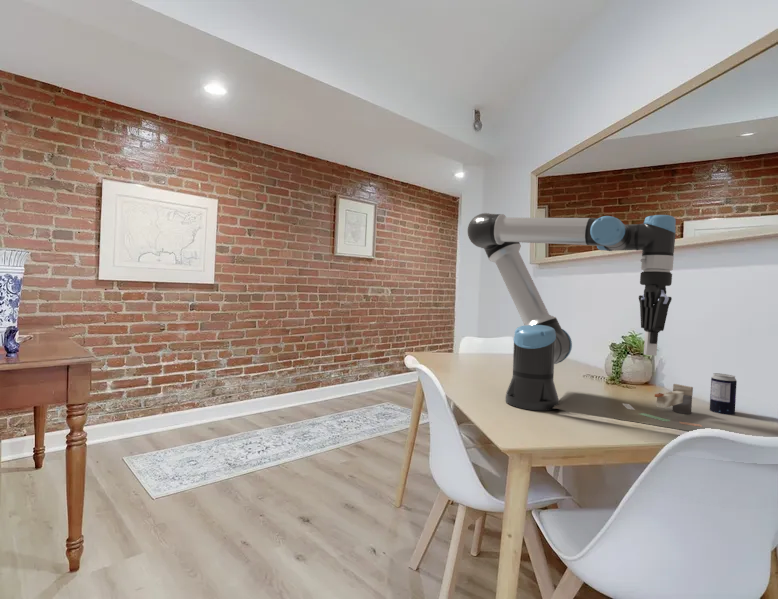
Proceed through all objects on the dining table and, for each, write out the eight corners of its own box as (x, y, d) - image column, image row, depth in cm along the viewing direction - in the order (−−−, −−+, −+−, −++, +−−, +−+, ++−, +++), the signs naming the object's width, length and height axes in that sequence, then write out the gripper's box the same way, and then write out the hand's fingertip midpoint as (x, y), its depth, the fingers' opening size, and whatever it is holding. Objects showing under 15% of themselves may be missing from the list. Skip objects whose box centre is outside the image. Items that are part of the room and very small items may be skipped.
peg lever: (664, 422, 108) (666, 393, 108) (646, 417, 112) (647, 389, 112) (693, 412, 119) (695, 386, 118) (676, 408, 122) (677, 383, 122)
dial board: (613, 418, 115) (614, 413, 115) (617, 404, 130) (617, 400, 130) (705, 434, 104) (705, 428, 104) (697, 416, 120) (698, 411, 120)
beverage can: (739, 420, 118) (741, 377, 117) (716, 418, 119) (718, 376, 118) (727, 414, 123) (729, 373, 123) (705, 413, 124) (707, 372, 124)
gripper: (631, 271, 125) (625, 350, 126) (654, 269, 112) (647, 357, 113) (657, 272, 125) (651, 352, 126) (684, 271, 112) (677, 359, 113)
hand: (649, 354), depth 119 cm, fingers closed
